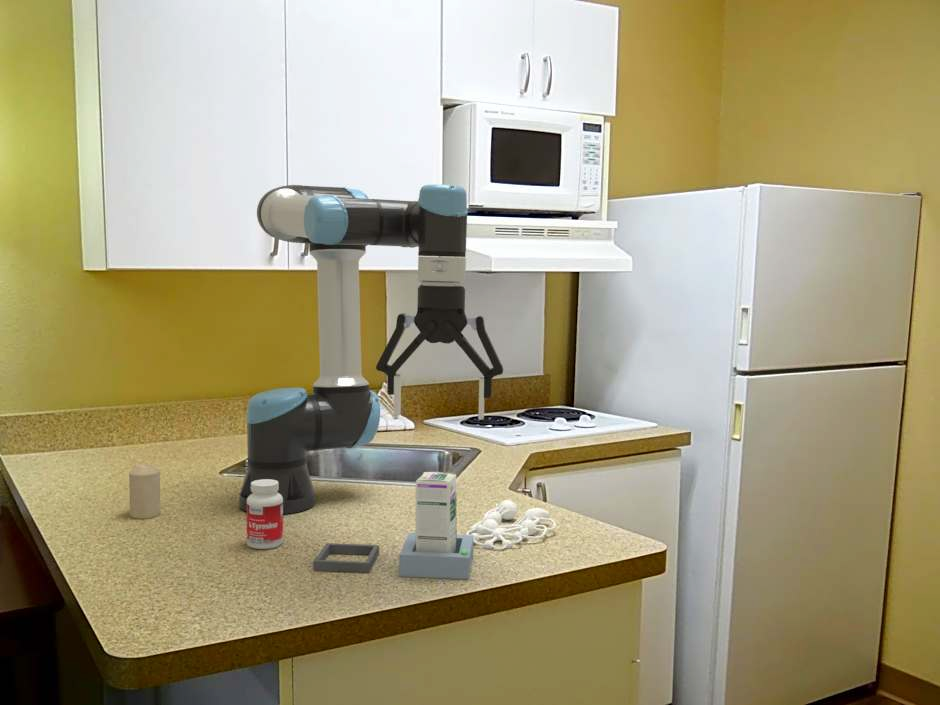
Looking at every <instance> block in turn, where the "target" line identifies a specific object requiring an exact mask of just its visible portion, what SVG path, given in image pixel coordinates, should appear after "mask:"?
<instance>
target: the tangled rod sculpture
mask: <svg viewBox="0 0 940 705" xmlns="http://www.w3.org/2000/svg"><path fill="white" fill-rule="evenodd" d="M517 513H518V506H517V504H516V503H515V502H514V501H513V500H510V499H505V500H503V501H501V502H500V503H495V507H494V508H491V509H490V510H487V511H486V512H485V513H484V515H483V518H482V519H481V520H480V521H478V522H475V523H474V524H473V525H472V526H469V530H468V531H467V532H466V533H465V535H474V541H473V544H475V545H478V546H482V547H484V549H485V550H492V549H494V550H498V551H502V550H504V549H505V550H508V549H511V548H512V546H513V545H516V544H518V543H520V542H522V541H523V539H527V540H539V539H540V540H541V539H542V538H543V537H544V536H545V535H546V533H547V532H549V531H553V530H554V529H556V527H557V523H556V521H555V520H554V519H553V518H549V517H550V516H551V515H550V512H549V511H547V510H546V509H543V508H541V507H540V508H539V507H534V508H528V509H527V510H525V511H524V513H523V514H522V515H521V516H520V517H519V518H518V519H517V520H516V521H515V522H514V523H513V524H512V523H511V524H506V525H505V524H504V525H500V524H501V522H502V519H503V520H506V521H509V520H512V519H514V518H516V515H517ZM542 521H545V522H546V521H547V522H551V523H552V524H553V525H552V526H551V527H547V526H546V525H544V524H539V523H541V522H542ZM536 531H537V532H542V533H541V534H540V535H538V536H537V535H536V536H534V534H535V533H536ZM510 532H514V533H510ZM470 533H471V534H470ZM481 534H482V535H481ZM532 535H533V536H532ZM504 537H509V538H513V540H514V541H511V540H509V539H505V538H504ZM481 539H482V540H483V539H485V541H484V543H482V542H479V540H481ZM486 539H487V540H486ZM496 541H497V542H498V541H501V542H502V543H501V547H498V546H495V545H494V543H495V542H496Z"/></svg>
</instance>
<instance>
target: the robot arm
mask: <svg viewBox="0 0 940 705" xmlns="http://www.w3.org/2000/svg"><path fill="white" fill-rule="evenodd" d="M467 204H468V202H467V191H466V189H465V188H464V187H462V186H460V185H453V184H425V185H423V186H421V188H420V190H419V194H418V199H417V200H412V201H411V200H400V199H399V200H398V199H379V198H376V199H375V198H369V197H368V195H367V194H366V193H365V192H363V191H362V190H360V189H353V188H349V187H348V188H347V187H344V186H343V187H335V186H317V185H316V186H315V185H301V184H289V185H282V186H279V187H275V188H272V189H270V190H268V191H267V192H266V193H264V195H263V196H262V197H261V198H260V200H258V204H257V208H256V218H257V222H258V224H259V226H260V227H261V229H262V230H263V232H264V233H266V235H268V236H270V237H271V238H274V239H277V240H279V241H282V242H286V243H287V242H288V243H296V244H308V246H309V247H308V249H309V250H308V253H309V255H310V256H311V257H312V258H313V259H314V260H315V261H316V265H317V266H316V268H317V269H316V270H317V273H316V275H317V305H318V306H317V308H318V309H317V310H318V311H317V312H318V313H317V314H318V340H319V341H318V342H319V343H318V345H319V346H318V347H319V377H318V379H317V380H315V381H314V382H313V384H312V393H310V394H308V392H307V390H306V389H305V388H303V387H297V386H295V387H281V388H275V389H271V390H269V389H268V390H265V391H262V392H259V393H256V394H255V395H253V396H252V397H251V398H250V399H249V400H248V403H247V410H246V411H247V412H246V419H245V422H246V423H247V424H246V433H247V435H246V436H247V441H246V442H247V470H246V473H245V476H244V479H243V482H242V485H241V488H240V491H239V494H238V506H239V507H238V508H239V509H240V510H241V511H243V512H246V513H247V498H248V497H249V495H251V494H252V493H253V492H252V491H251V482H253V481H255V480H262V479H272V480H276V481H278V484H279V490H278V491H277V493H279V494H280V495H281V496H282V497H283V515H288V514H294V513H299V512H303V511H306V510H308V509H311V508H312V507H314V506H315V504H316V491H315V488H314V485H313V482H312V478H311V476H310V473H309V468H308V467H307V466H308V465H307V456H308V455H307V453H308V452H315V451H326V450H336V449H345V448H346V449H352V448H357V447H362V446H364V447H365V446H367V445H369V444H370V443H371V442H372V441H373V440H374V438H375V436H376V435H377V432H378V429H379V426H380V420H381V405H380V404H381V403H379V396H378V395H377V393H376V392H375V391H373V390H370V383H369V381H367V379H366V378H365V377H364V376H363V374H362V344H361V343H362V342H361V336H362V335H361V304H360V303H361V302H360V299H361V298H360V297H361V296H360V260H361V259H362V258H363V256H364V255H366V253H367V250H366V248H367V246H380V247H381V246H382V247H383V246H384V247H400V248H410V249H411V248H412V249H413V248H417V247H418V252H417V253H418V254H417V256H418V261H417V264H418V265H417V282H419V283H420V282H421V284H420V285H419V286H418V287H417V304H416V305H417V306H416V307H417V308H416V309H417V311H416V314H415V315H409V314H406V313H403V312H402V313H400V314H398V315H397V318H396V324H395V329H394V331H393V333H392V335H391V337H390V338H389V340H388V342H387V345H386V346H385V349H384V350H383V352H382V354H381V356H380V358H379V360H378V362H377V364H376V366H375V369H376V370H377V372H382V373H384V374H386V377H387V385H386V386H387V387H386V388H387V391H386V392H387V395H389V396H393V417H399V416H400V415H401V411H402V410H401V408H402V406H401V405H402V373H397V372H398V371H399V370H400V368H401V367H402V366H403V365H405V363H406V362H407V360H408V359H409V358H410V357H411V356H412V354H414V353H415V351H416V350H417V349H418V348H419V347H420V346H421V344H423V343H424V341H427V342H428V343H430V344H436V343H442V344H448V345H449V344H451V343H453V342H455V343H456V344H457V346H459V347H460V348H461V350H462V351H463V352H464V353H465V355H466V356H467V357H468V358H469V360H470V361H471V362H472V364H473V365H474V366H475V367H476V369H477V370H478V371H479V372H480V373H481V374H482V376H479V380H478V384H479V385H478V415H477V416H478V418H477V419H478V420H484V418H485V399H490V398H491V396H492V391H493V390H492V385H493V382H492V381H493V378H494V377H497V376H500V375H502V374H503V372H504V367H503V365H502V362H501V360H500V357H499V356H498V354H497V352H496V350H495V347H494V345H493V343H492V341H491V339H490V337H489V334H488V332H487V330H486V325H485V324H486V323H485V317H484V316H483V315H480V314H479V315H477V316H471V317H467V316H466V311H465V310H466V308H465V307H466V306H465V305H466V303H465V302H466V288H465V286H462V283H465V282H466V266H467V265H466V264H467V258H466V255H467V253H466V252H467V233H468V232H467V230H468V229H467V228H468V226H467V225H468V213H469V210H468V208H467V207H468V206H467ZM412 323H413V324H414V325H415V327H416V328H417V330H418V331H419V333H418V335H416V337H414V339H413V340H412V341H411V342H410V344H409V345H408V346H407V347H406V348H405V349H404V350H403V352H402V353H401V354H400V355H399V356H398V357H397V358H396V359H395V361H394V362H393V363H392V364H391V365H390V364H388V363H389V361H390V359H391V357H392V356H393V354H394V351H395V350H396V348H397V346H398V344H399V342H400V341H401V339H402V336H403V335H404V333H405V331H406V329H408V328H410V326H411V324H412ZM467 325H468V326H469V325H470V326H471V329H472V330H473V331H476V333H477V335H478V338H479V339H480V340H479V341H480V342H481V344H482V347H483V349H484V351H485V353H486V355H487V357H488V359H489V362H490V364H491V367H492V368H490V367H489V366H488V364H487V363H486V362H485V361H484V359H483V358H482V357H481V356H480V354H478V352H477V350H475V348H474V347H473V346H472V345H471V344H470V342H469V341H468V339H467V338H466V337H465V336H464V334H463V333H462V332H463V331H464V329H465V328H466V327H467Z"/></svg>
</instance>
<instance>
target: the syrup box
mask: <svg viewBox="0 0 940 705" xmlns="http://www.w3.org/2000/svg"><path fill="white" fill-rule="evenodd" d="M415 533H416V552H436V553H456V535H457V474H456V473H452V472H446V471H427V472H426V471H424V472H423V473H422V475H420V476H419V477H418V478H417V479H416V480H415Z"/></svg>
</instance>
